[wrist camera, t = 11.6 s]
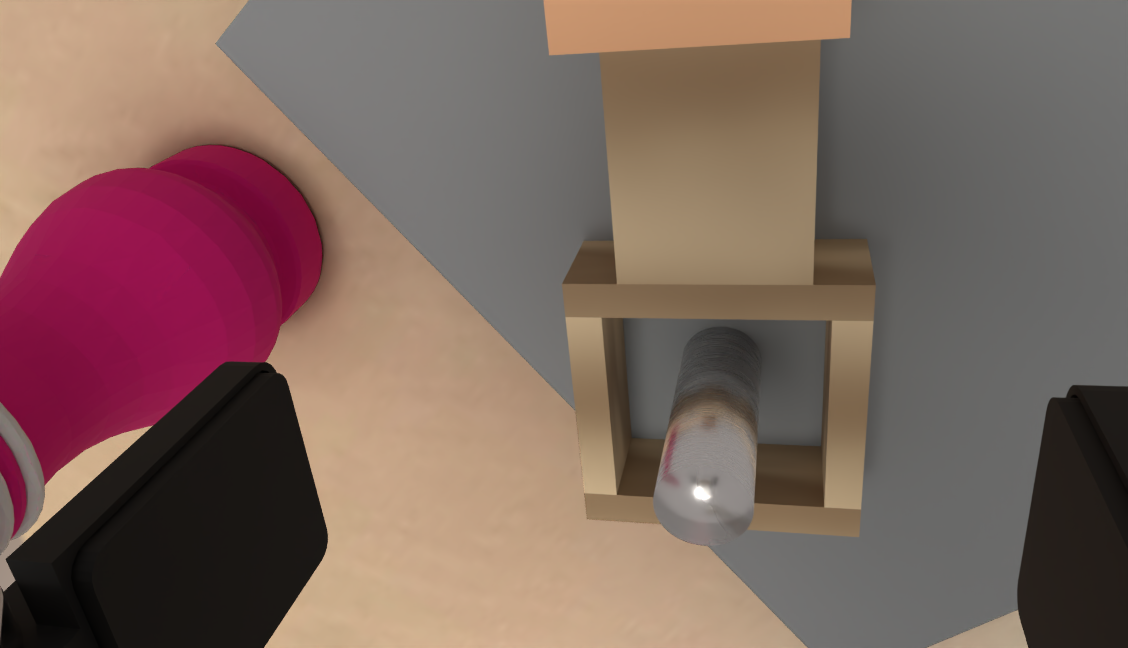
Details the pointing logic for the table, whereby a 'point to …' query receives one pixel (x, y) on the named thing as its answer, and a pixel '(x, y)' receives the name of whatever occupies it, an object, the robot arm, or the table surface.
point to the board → (843, 211)
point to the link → (719, 267)
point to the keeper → (688, 23)
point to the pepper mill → (140, 304)
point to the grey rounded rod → (711, 440)
